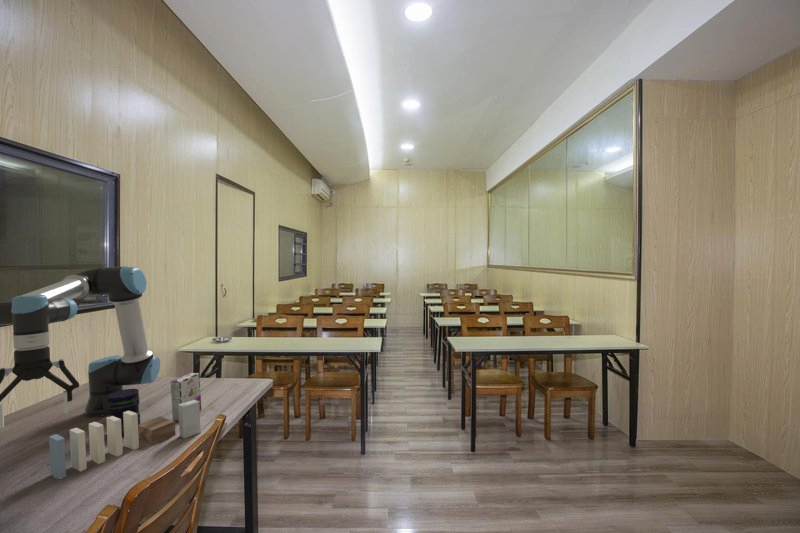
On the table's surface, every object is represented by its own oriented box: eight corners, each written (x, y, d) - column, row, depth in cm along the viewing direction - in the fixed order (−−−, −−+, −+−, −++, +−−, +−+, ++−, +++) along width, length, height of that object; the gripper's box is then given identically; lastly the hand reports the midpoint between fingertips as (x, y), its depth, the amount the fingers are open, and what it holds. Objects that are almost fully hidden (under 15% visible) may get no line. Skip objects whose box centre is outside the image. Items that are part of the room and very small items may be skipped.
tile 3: (108, 452, 129) (106, 417, 129) (114, 450, 131) (112, 415, 130) (116, 456, 126) (114, 421, 126) (122, 454, 128) (121, 419, 127)
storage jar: (106, 440, 138) (104, 399, 138) (112, 429, 147) (110, 391, 147) (138, 433, 143) (137, 394, 143) (142, 423, 152) (140, 387, 151)
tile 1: (71, 466, 120) (69, 429, 120) (78, 464, 122) (76, 427, 122) (79, 471, 117) (77, 433, 117) (86, 468, 119) (84, 431, 119)
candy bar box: (191, 409, 165) (190, 372, 164) (201, 410, 164) (200, 372, 163) (171, 420, 154) (169, 380, 153) (182, 421, 153) (180, 381, 152)
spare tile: (50, 474, 116) (48, 436, 116) (58, 471, 118) (56, 434, 117) (58, 480, 113) (56, 440, 113) (66, 477, 115) (64, 438, 114)
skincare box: (196, 430, 144) (195, 398, 144) (201, 433, 142) (199, 401, 141) (178, 436, 140) (177, 403, 139) (183, 439, 137) (182, 406, 137)
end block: (138, 438, 139) (137, 424, 139) (160, 429, 146) (160, 416, 146) (152, 444, 134) (151, 430, 134) (175, 434, 141) (174, 421, 141)
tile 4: (124, 445, 133) (123, 412, 133) (130, 443, 135) (128, 410, 135) (133, 449, 130) (131, 415, 130) (138, 447, 132) (137, 413, 132)
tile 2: (90, 459, 125) (88, 423, 124) (96, 456, 126) (95, 421, 126) (98, 463, 122) (96, 427, 121) (105, 461, 123) (103, 425, 123)
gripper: (-35, 358, 99) (-31, 438, 100) (88, 342, 116) (91, 410, 116) (-31, 353, 105) (-27, 429, 105) (86, 339, 122) (89, 404, 122)
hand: (35, 419), depth 111 cm, fingers open, 13 cm apart
